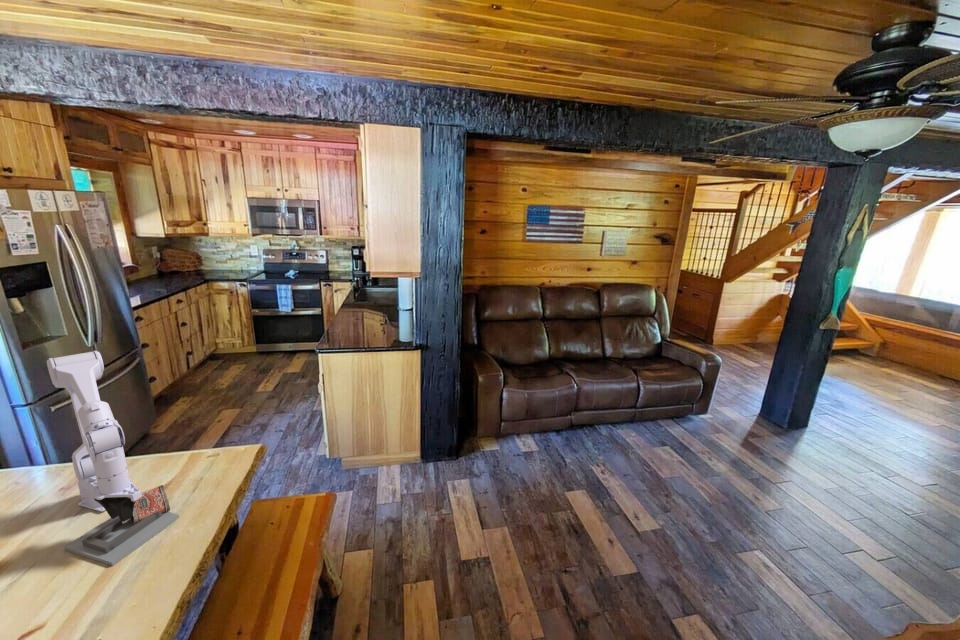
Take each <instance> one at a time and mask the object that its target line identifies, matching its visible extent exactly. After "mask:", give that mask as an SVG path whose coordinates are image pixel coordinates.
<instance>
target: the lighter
mask: <svg viewBox="0 0 960 640" xmlns="http://www.w3.org/2000/svg"><path fill="white" fill-rule="evenodd" d="M141 492H142V491H141ZM158 511H162V513H164V512H170V511H171V505H170V502H169V497H168V494H167V491H166V489H165V486H164V484H160V485H158V486H157V487H154V488H152V489H148V490H145V491H143V492H142V497H141V498H139V499H137V500H136V501H135V504H134V509H133V515H132V517H131V518H129V519H128V520H126V521H124V522H123V521H122V524H126V523H128V522H130V521H131V520H133V523H134V525H135V524H137V523H138V522H140V521H141V520H143V519H144V518H146V517H147V516H149V515H151V514H153V513H156V512H158ZM118 518H119V516H118ZM119 519H120V518H119Z"/></svg>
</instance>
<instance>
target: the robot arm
mask: <svg viewBox="0 0 960 640" xmlns="http://www.w3.org/2000/svg"><path fill="white" fill-rule="evenodd" d="M102 357H103V356H102V354H101V352H100V351H98V350H93V351H88V352H83V353H75V354H70V355H65V356H64V355H63V356H59V357H53V358H52V357H49V358H48V359H47V360H46V365H47V370H48V373H49V376H50V380H51V383H52V385H53V386H54V387H55V388H57V389H58V388H59V389H60V388H61V389H65V390H66V391H67V392H68V394H69V396H70V399H71V403H72V407H73V410H74V414H75V418H76V420H77V425H78V429H79V433H80V437H81V439H82V440H81V441H82V443H81V445H80V446H79V447H78V448H77V449H76V450H74V451H73V453H72V456H71V459H72V465H73V469H74V474H75V476H76V479H77V480H78V482H77V487H78V490H79V491H78V492H79V495H80V498H81V501H80V502H78V506H80V507H84V508H87V509H90V510H95V511H97V512H105V511H106V512H107V514H108V515H109V517H110V518H112V519H114V518H116V517H117V516H119V518H120V520H121V521H123V522H124V521H126V520H128V519H129V518H131V517H132V515H133V509H134V504H135V501H136V500H137V499H139V498H141V497H142V489H139V488H138V487H137V486H136V485H135V484H134V483H133V481H132V480H131V479H130V475H129V469H128V465H127V463H128V462H127V460H126V455H125V451H124V446H125V444H126V438H125V433H124V430H123V428H122V426H121V425H120V423H119V422H118V420H117V419H115V417H114V415H113V411H112V410H111V407H110V405H109V403H108V402H106V401H103V400H101V397H100V393H99V388H98V385H97V381H98V380H100V379H102V377H103V374H104V370H105V366H104V361H103V358H102Z"/></svg>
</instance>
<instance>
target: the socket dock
mask: <svg viewBox="0 0 960 640" xmlns="http://www.w3.org/2000/svg"><path fill="white" fill-rule="evenodd" d="M179 518H180V514H179V513H178V514H177V513H174V512H170V511H168V512H164V513H162V511H158V512H156V513H153V514H151V515H149V516H147V517H146V518H144V519H143V520H141V521H140V522H138V523H137V524H135V525H134V523H133V520H131V521H130V522H128V523H126V524H122V521H121V520H120V519H119V518H118V516H117V517H116V518H114V519H112V518H111V517H110V518H108V519H107V520H105V521H103V522H102V523H100V524H99V525H97V526H95V527H93V528H92V529H91V530H89V531H87V532H86V533H83V534H82V535H80V536H79V537H77V538H76V539H75V540H73V541H71V542H70V543H68V544H66V545H65V546H63V549H64V551H67V552H70V553H72V554H76V555H78V556H81V557H85V558H87V559H91V560H93V561H96V562H99V563H103V564H105V565H107V566H112V567H114V566H115V565H116V564H118V563H119V562H121V560H123V559H125V558H126V557H128V556H129V555H130V554H132V553H133V552H135V551H136V550H138V549H139V548H140V547H141V546H143V545H144V544H146V543H147V542H149V540H151V539H152V538H154V537H155V536H157V535H158V534H160V533H161V532H162V531H164V530H165V529H166V528H168V527H169V526H170V525H172V524H173V523H174V522H175V521H176V520H179Z"/></svg>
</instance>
